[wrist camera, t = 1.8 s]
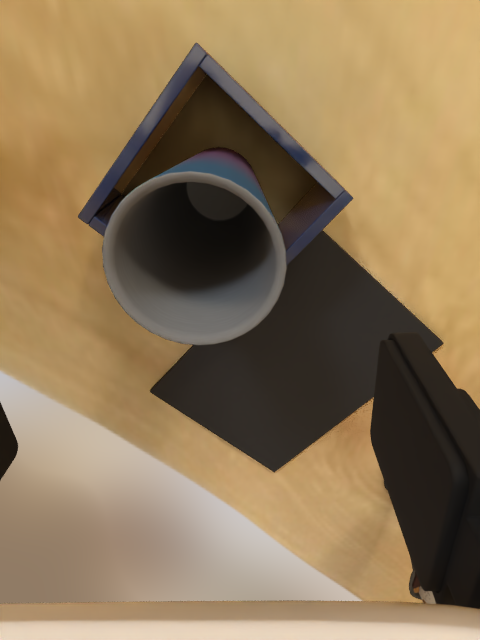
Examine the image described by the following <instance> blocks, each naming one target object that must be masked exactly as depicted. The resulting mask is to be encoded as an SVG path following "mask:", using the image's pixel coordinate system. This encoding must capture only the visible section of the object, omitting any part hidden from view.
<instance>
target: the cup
mask: <svg viewBox="0 0 480 640" xmlns="http://www.w3.org/2000/svg"><path fill="white" fill-rule="evenodd" d="M102 253H103V267H104V271H105V275H106V278H107V282H108V284H109V287H110V289H111V291H112V293H113V295H114V297H115V299H116V300H117V301H118V303H119V304H120V305H121V307H122V308H123V309H124V311H125V312H126V313H127V314H128V315H129V316H130V317H131V318H132V319H133V320H134V321H135V322H137V323H138V324H139V325H141V326H142V327H144V328H145V329H147V330H148V331H150V332H151V333H153V334H156V335H158V336H160V337H162V338H164V339H167V340H170V341H174V342H178V343H182V344H191V345H209V344H217V343H221V342H225V341H229V340H232V339H234V338H237V337H239V336H241V335H243V334H245V333H247V332H248V331H250V330H251V329H253V328H254V327H255V326H257V325H258V324H259V323H260V322H261V321H262V320H263V319H264V318H265V317H266V316H267V315H268V314H269V313H270V311H271V310H272V308H273V307H274V305H275V304H276V302H277V301H278V298H279V296H280V293H281V291H282V288H283V286H284V281H285V275H286V269H287V264H286V249H285V245H284V241H283V237H282V234H281V231H280V229H279V227H278V225H277V223H276V220H275V218H274V216H273V214H272V211H271V209H270V207H269V205H268V203H267V200H266V198H265V196H264V194H263V192H262V189H261V187H260V185H259V183H258V180H257V178H256V176H255V174H254V172H253V170H252V168H251V166H250V164H249V163H248V162H247V160H246V159H245V158H244V157H243V156H242V155H240V154H239V153H237V152H235V151H234V150H231V149H228V148H221V147H216V148H210V149H207V150H204V151H202V152H200V153H198V154H196V155H194V156H193V157H191V158H189V159H187V160H185V161H183V162H181V163H180V164H178V165H176V166H174V167H172V168H170V169H168V170H166V171H165V172H163V173H161V174H159V175H157V176H155V177H153V178H152V179H150V180H148V181H146V182H145V183H143V184H141V185H139V186H138V187H136V188H135V189H133V190H132V191H131V192H130V193H129V194H128V195H127V196H126V197H125V198H124V199H123V200H122V201H121V202H120V204H119V205H118V206H117V208H116V209H115V211H114V212H113V214H112V215H111V218H110V220H109V223H108V225H107V228H106V230H105V235H104V241H103V247H102Z"/></svg>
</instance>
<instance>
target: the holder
mask: <svg viewBox="0 0 480 640" xmlns="http://www.w3.org/2000/svg"><path fill="white" fill-rule="evenodd" d="M206 75H208V76H209V77H210V78H211V79H212V80H213V81H214V82H215V83H216V84H217V85H218V86H219V87H220V88H221V89H222V90H223V91H225V92H226V93H227V94H228V95H229V96H230V97H231V98H232V99H233V100H234V101H235V102H236V103H237V104H238V105H239V106H240V107H241V108H242V109H243V110H244V111H245V112H246V113H247V114H248V115H249V116H250V117H251V118H252V119H253V120H254V121H255V122H256V123H257V124H258V125H259V126H260V127H262V128H263V129H264V130H265V131H266V132H267V133H268V134H269V135H270V136H271V137H272V138H273V139H274V140H275V141H276V142H277V143H278V144H279V145H280V146H281V147H282V148H283V149H284V150H285V151H286V152H287V153H288V154H289V155H290V156H291V157H292V158H293V159H294V160H295V161H296V162H297V163H299V164H300V165H301V166H302V167H303V168H304V169H305V170H306V171H307V172H308V173H309V174H310V175H311V176H312V177H313V178H314V179H315V180H316V181H317V183H316V184H315V185H314V186H313V187H312V189H311V190H310V191H309V192H308V193H307V194H306V195H305V196H304V197H303V198H302V199H301V200H300V201H299V203H298V204H297V205H296V206H295V207H294V208H293V209H292V210H291V211H290V212H289V213H288V214H287V215H286V217H285V218H284V219H283V220H282V221H281V222H280V223H279V224H278V227H279V229H280V231H281V234H282V237H283V241H284V245H285V249H286V264H287V265H288V264H289V263H290V262H291V261H292V260H293V259H294V258H295V257H296V256H297V255H298V254H299V253H300V252H301V251H302V250H303V249H304V248H305V247H306V246H307V245H308V244H309V243H310V242H311V241H312V240H313V239H314V238H315V237H316V236H317V235H318V234H319V233H320V232H321V231H322V230H323V229H324V228H325V227H326V226H327V225H328V224H329V223H330V222H331V221H332V220H333V219H334V218H335V217H336V216H337V215H338V214H339V212H340V211H341V210H342V209H343V208H344V207H345V206H346V205H347V204H348V203H349V202H350V201H351V200H352V199H353V197H352V196H351V195H350V194H349V193H348V192H347V191H346V190H345V189H344V188H343V187H342V186H341V185H340V184H339V183H338V182H337V181H336V180H335V179H334V178H333V177H332V176H331V175H330V174H329V173H328V172H327V171H326V170H325V169H324V168H323V167H322V166H321V165H320V164H319V163H318V162H317V161H316V160H315V159H314V158H313V157H312V156H311V155H310V154H309V153H308V152H307V151H306V150H305V149H304V148H303V147H302V146H301V145H300V144H299V143H298V142H297V141H296V140H295V139H294V138H293V137H292V136H291V135H290V134H289V133H288V132H287V131H286V130H285V129H284V128H283V127H282V126H281V125H280V124H279V123H278V122H277V121H276V120H275V119H274V118H273V117H272V116H271V115H270V114H269V113H268V112H267V111H266V110H265V109H264V108H263V107H262V106H261V105H260V104H259V103H258V102H257V101H256V100H255V99H254V98H253V97H252V96H251V95H250V94H249V93H248V92H247V91H246V90H245V89H244V88H243V87H242V86H241V85H240V84H239V83H238V82H237V81H236V80H235V79H234V78H233V77H232V76H231V75H230V74H229V73H228V72H227V71H226V70H225V69H224V68H223V67H222V66H221V65H220V64H219V63H218V62H217V61H216V60H215V59H214V58H213V57H212V56H211V55H210V54H209V53H208V52H206V51H205V50H204V49H203V48H202V47H201V46H200V45H199V44H198V43H195V44H194V46H193V47H192V49H191V50H190V52H189V53H188V55H187V56H186V58H185V59H184V61H183V62H182V64H181V65H180V66H179V68H178V69H177V71H176V72H175V74H174V75H173V77H172V78H171V80H170V81H169V83H168V84H167V86H166V87H165V89H164V90H163V92H162V93H161V94H160V96H159V97H158V99H157V100H156V102H155V103H154V105H153V106H152V108H151V109H150V111H149V112H148V114H147V115H146V117H145V118H144V119H143V121H142V122H141V124H140V125H139V127H138V128H137V130H136V131H135V133H134V134H133V136H132V137H131V139H130V140H129V142H128V143H127V144H126V146H125V147H124V149H123V150H122V152H121V153H120V155H119V156H118V158H117V159H116V161H115V162H114V164H113V165H112V167H111V168H110V169H109V171H108V172H107V174H106V175H105V177H104V178H103V180H102V181H101V183H100V184H99V186H98V187H97V189H96V190H95V192H94V193H93V195H92V196H91V197H90V199H89V200H88V202H87V203H86V205H85V206H84V208H83V209H82V211H81V212H80V214H79V215H78V218H79V219H81V220H82V221H83V222H85V223H86V224H89V226H90V227H92V228H93V229H94V230H95V231H97V232H98V233H99V234H101V235H102V236H103V237H104V235H105V230H106V228H107V225H108V223H109V220H110V218H111V215H112V214H113V212H114V211H115V209H116V208H117V206H118V205H119V204H120V202H121V201H122V200H123V199H124V198H125V196H124V195H123V194H122V193H123V191H124V190H125V188H126V187H127V186H128V184H129V183H130V181H131V180H132V179H133V177H134V176H135V174H136V173H137V172H138V170H139V169H140V167H141V166H142V165H143V163H144V162H145V160H146V159H147V158H148V156H149V155H150V153H151V152H152V151H153V149H154V148H155V146H156V145H157V144H158V142H159V141H160V139H161V138H162V137H163V135H164V134H165V132H166V131H167V129H168V128H169V127H170V125H171V124H172V122H173V121H174V120H175V118H176V117H177V115H178V114H179V113H180V111H181V110H182V108H183V107H184V106H185V104H186V103H187V101H188V100H189V99H190V97H191V96H192V94H193V93H194V92H195V90H196V89H197V87H198V86H199V85H200V83H201V82H202V80H203V79H204V78H205V76H206Z"/></svg>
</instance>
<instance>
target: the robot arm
mask: <svg viewBox="0 0 480 640" xmlns="http://www.w3.org/2000/svg"><path fill="white" fill-rule="evenodd" d="M370 434H371V442H372V446H373V449H374V452H375V455H376V458H377V461H378V463H379V466H380V469H381V472H382V475H383V478H384V481H385V484H386V487H387V490H388V493H389V496H390V498H391V501H392V504H393V507H394V510H395V513H396V516H397V519H398V522H399V525H400V528H401V531H402V533H403V536H404V539H405V542H406V545H407V548H408V551H409V554H410V557H411V560H412V563H413V566H414V568H415V571H416V574H417V577H418V580H419V583H420V585H421V587H422V589H423V590H424V591H432V593H433V596H434V599H435V602H436V604H427V603H410V602H377V601H184V602H183V601H173V602H172V601H171V602H77V603H7V604H6V603H2V604H0V640H480V410H479V408H478V407H477V405H476V404H475V403H474V401H473V400H472V399H471V397H470V396H469V395H468V394H467V392H466V391H465V390H462V389H457V388H456V387H455V385H454V384H453V382H452V381H451V380H450V378H449V377H448V375H447V374H446V372H445V371H444V369H443V368H442V367H441V365H440V364H439V362H438V361H437V359H436V358H435V357H434V355H433V354H432V352H431V351H430V349H429V348H428V346H427V345H426V344H425V342H424V341H423V339H422V338H421V336H420V335H419V334H418V333H417V332H409V333H391V334H390V335H389V337H388V340H382V341H381V342H380V346H379V354H378V364H377V373H376V382H375V392H374V401H373V410H372V420H371V430H370ZM17 451H18V443H17V440H16V437H15V435H14V433H13V431H12V428H11V426H10V424H9V422H8V419H7V417H6V415H5V412H4V410H3V408H2V405H1V403H0V480H1V478H2V477H3V475H4V474H5V472H6V470H7V469H8V468H9V466H10V464H11V463H12V461H13V460H14V458H15V456H16V454H17Z"/></svg>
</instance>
